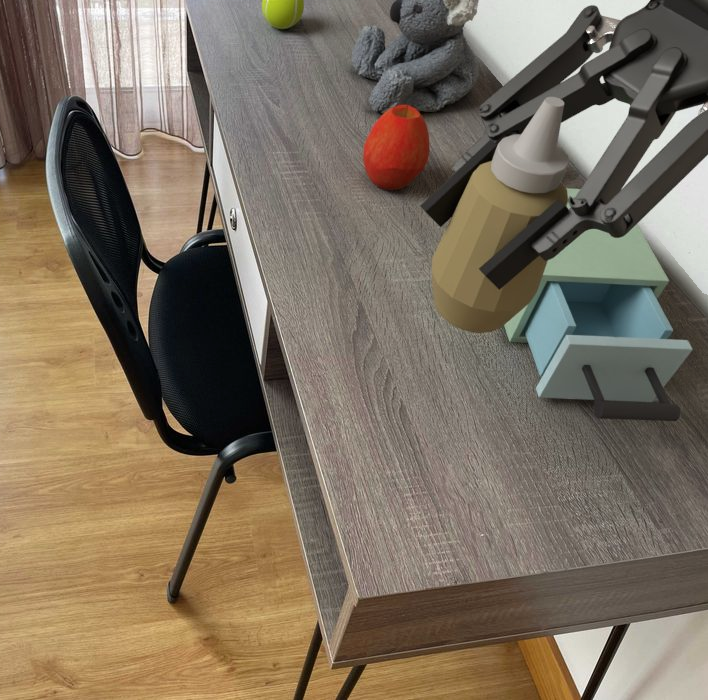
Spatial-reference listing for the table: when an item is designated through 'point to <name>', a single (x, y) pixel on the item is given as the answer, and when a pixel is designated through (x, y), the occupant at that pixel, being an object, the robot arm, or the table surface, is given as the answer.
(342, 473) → the table surface
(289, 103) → the table surface
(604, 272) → the cabinet
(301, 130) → the table surface
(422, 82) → the koala plush
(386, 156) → the red egg-shaped piece
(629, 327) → the drawer
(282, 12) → the tennis ball
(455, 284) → the squeeze bottle
